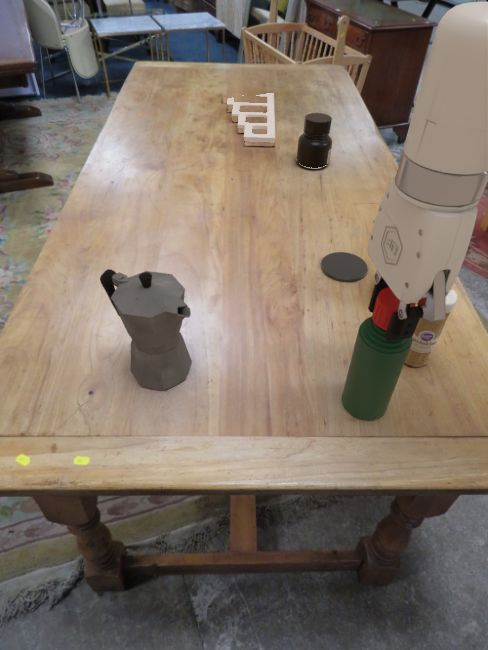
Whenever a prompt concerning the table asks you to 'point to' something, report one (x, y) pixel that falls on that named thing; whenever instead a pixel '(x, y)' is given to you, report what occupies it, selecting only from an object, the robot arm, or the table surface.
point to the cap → (385, 308)
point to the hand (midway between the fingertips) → (389, 322)
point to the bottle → (373, 371)
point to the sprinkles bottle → (428, 335)
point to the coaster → (344, 267)
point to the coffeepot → (152, 325)
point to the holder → (249, 126)
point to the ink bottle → (315, 141)
